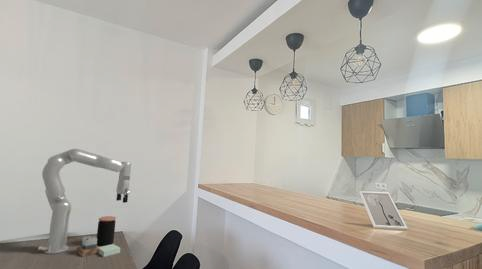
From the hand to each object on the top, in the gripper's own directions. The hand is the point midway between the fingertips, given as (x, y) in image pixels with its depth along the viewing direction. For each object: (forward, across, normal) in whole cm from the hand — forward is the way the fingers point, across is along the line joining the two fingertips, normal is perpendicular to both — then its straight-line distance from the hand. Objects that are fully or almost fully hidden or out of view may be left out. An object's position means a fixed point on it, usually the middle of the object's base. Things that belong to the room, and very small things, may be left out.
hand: (121, 201), depth 188 cm
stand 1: (+28, +12, -24) cm, 39 cm away
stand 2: (+28, +20, -15) cm, 37 cm away
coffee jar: (+28, +4, -10) cm, 30 cm away
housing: (+25, +12, -24) cm, 36 cm away
